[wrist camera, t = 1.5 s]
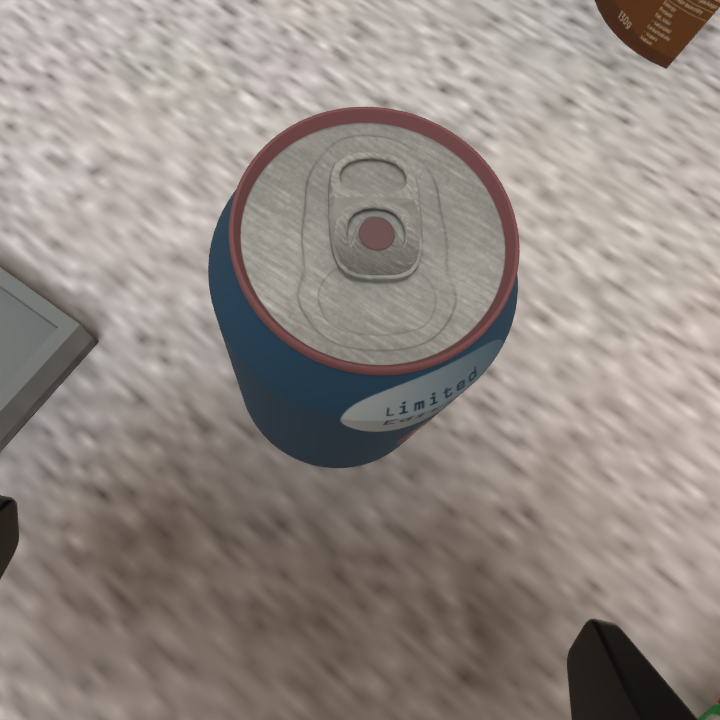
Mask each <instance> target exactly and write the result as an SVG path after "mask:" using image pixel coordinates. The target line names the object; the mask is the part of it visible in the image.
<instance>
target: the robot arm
mask: <svg viewBox="0 0 720 720" xmlns="http://www.w3.org/2000/svg"><path fill="white" fill-rule="evenodd" d="M18 542H19V526H18V512H17V503H16V501H15V500H14V499H13V498H11V497H6V496H1V495H0V579H1V577H2V575H3V574H4V572H5V570H6V568H7V566H8V564H9V563H10V561H11V559H12V557H13V555H14V553H15V551H16V549H17V546H18ZM567 671H568V683H569V694H570V705H571V716H572V720H698V719H697V718H696V717H695V715H694V714H693V713H692V712H691V711H690V710H689V708H688V707H687V706H686V705H685V704H684V703H683V701H682V700H681V699H680V698H679V697H678V695H677V694H676V693H675V692H674V691H673V690H672V688H671V687H670V686H669V685H668V684H667V682H666V681H665V680H664V679H663V678H662V677H661V675H660V674H659V673H658V672H657V671H656V669H655V668H654V667H653V666H652V665H651V664H650V662H649V661H648V660H647V659H646V658H645V656H644V655H643V654H642V653H641V652H640V651H639V649H638V648H637V647H636V646H635V645H634V644H633V642H632V641H631V640H630V639H629V638H628V636H627V635H626V634H625V633H624V632H623V631H622V629H621V628H620V627H619V626H617V625H616V624H614V623H611V622H607V621H602V620H597V619H590V620H588V621H587V622H586V623H585V625H584V626H583V628H582V630H581V631H580V633H579V635H578V636H577V638H576V640H575V641H574V643H573V645H572V646H571V648H570V650H569V653H568V658H567Z"/></svg>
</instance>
